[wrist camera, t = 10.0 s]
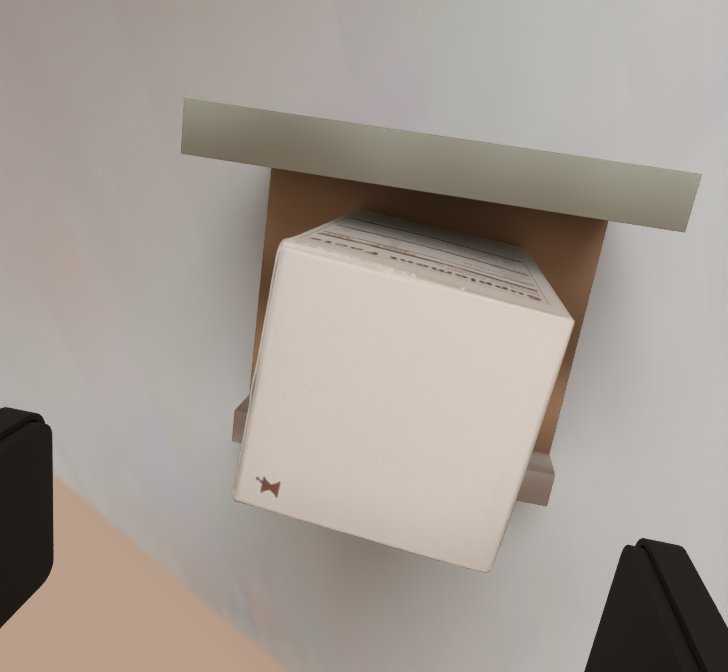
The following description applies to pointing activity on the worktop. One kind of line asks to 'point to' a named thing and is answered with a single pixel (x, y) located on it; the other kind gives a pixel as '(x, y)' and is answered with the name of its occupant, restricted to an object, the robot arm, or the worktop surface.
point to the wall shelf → (444, 205)
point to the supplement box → (401, 385)
